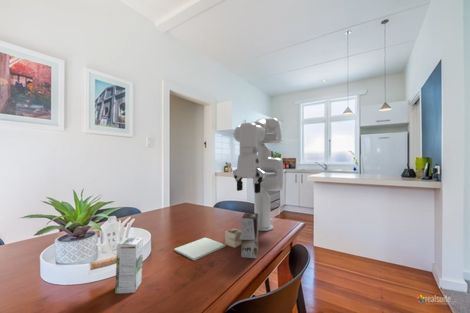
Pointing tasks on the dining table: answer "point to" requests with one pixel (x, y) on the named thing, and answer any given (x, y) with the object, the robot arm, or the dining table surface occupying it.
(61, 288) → the dining table surface
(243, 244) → the coffee box
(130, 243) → the syrup box
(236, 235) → the birch cube
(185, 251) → the sage mat
